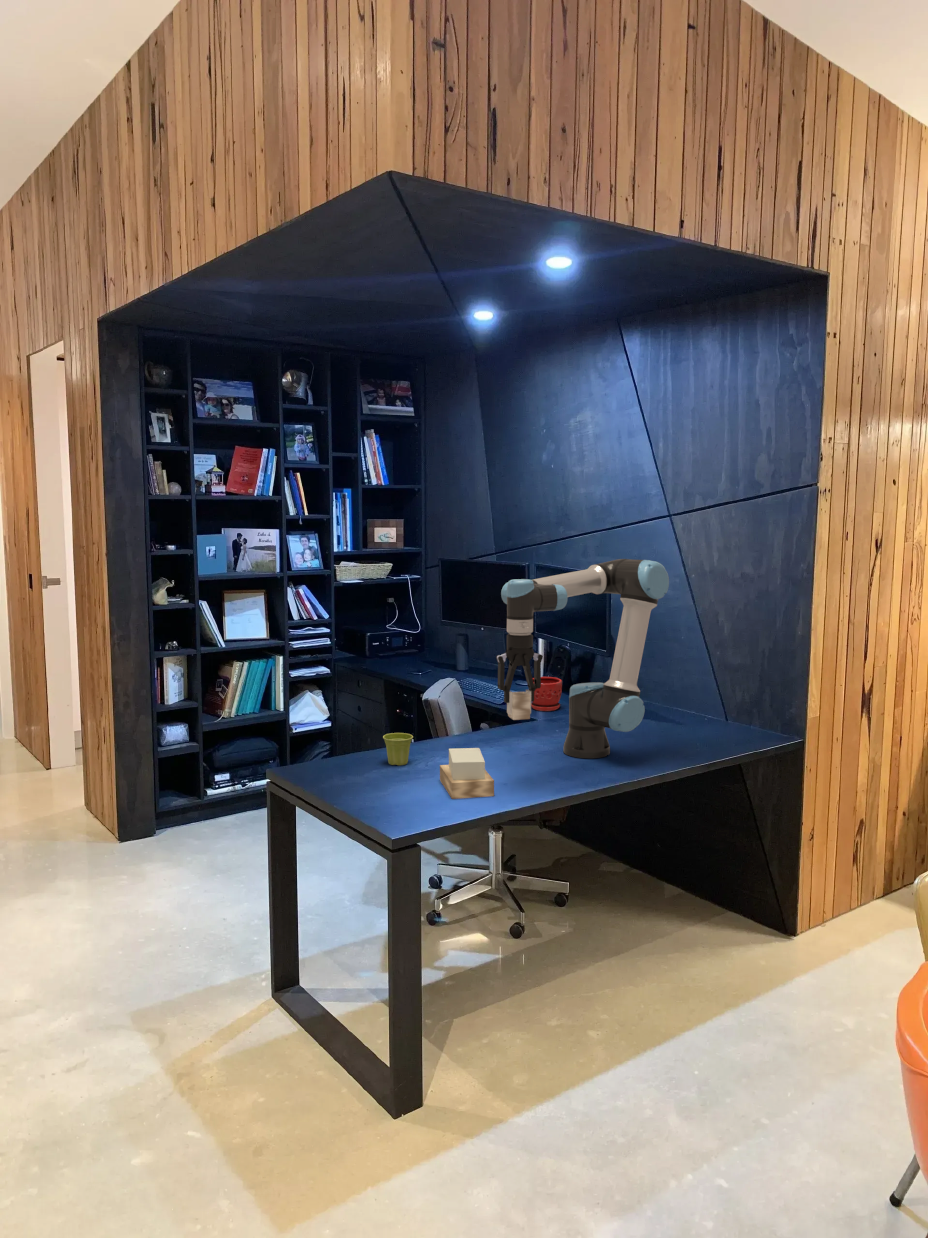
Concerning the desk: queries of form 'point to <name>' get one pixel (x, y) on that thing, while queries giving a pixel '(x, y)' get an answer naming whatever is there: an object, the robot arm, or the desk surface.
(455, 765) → the middle block
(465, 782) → the bottom block
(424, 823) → the desk surface
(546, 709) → the plant pot
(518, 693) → the ash block
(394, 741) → the plant pot
